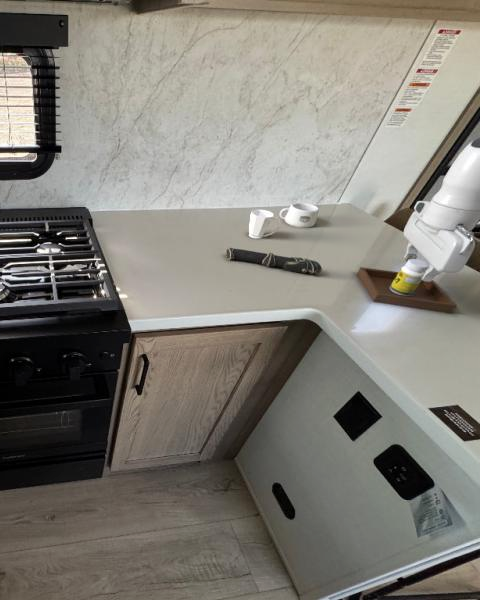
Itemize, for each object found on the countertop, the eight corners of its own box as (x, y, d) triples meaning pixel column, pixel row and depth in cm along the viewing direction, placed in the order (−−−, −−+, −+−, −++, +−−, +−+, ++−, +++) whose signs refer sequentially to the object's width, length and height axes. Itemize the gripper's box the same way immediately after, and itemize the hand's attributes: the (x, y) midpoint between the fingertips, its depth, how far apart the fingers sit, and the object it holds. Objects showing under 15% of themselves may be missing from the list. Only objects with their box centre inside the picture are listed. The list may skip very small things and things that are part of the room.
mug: (310, 219, 127) (316, 203, 123) (317, 229, 119) (324, 213, 116) (274, 215, 129) (280, 200, 126) (279, 226, 122) (285, 209, 118)
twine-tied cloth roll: (225, 251, 100) (324, 269, 91) (228, 240, 103) (325, 257, 94) (222, 262, 103) (318, 281, 94) (226, 251, 106) (319, 268, 97)
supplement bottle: (388, 284, 91) (406, 256, 86) (411, 289, 88) (430, 261, 83) (388, 292, 88) (406, 264, 83) (412, 298, 85) (432, 269, 80)
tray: (424, 284, 91) (429, 276, 90) (450, 314, 81) (456, 305, 80) (356, 274, 96) (360, 267, 94) (372, 302, 85) (377, 294, 84)
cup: (242, 231, 119) (248, 208, 114) (272, 233, 118) (280, 210, 113) (246, 240, 113) (253, 216, 109) (278, 242, 112) (287, 218, 107)
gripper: (497, 237, 67) (454, 295, 75) (445, 201, 83) (414, 252, 91) (457, 234, 69) (419, 291, 77) (413, 199, 85) (386, 249, 93)
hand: (416, 269), depth 84 cm, fingers open, 8 cm apart
